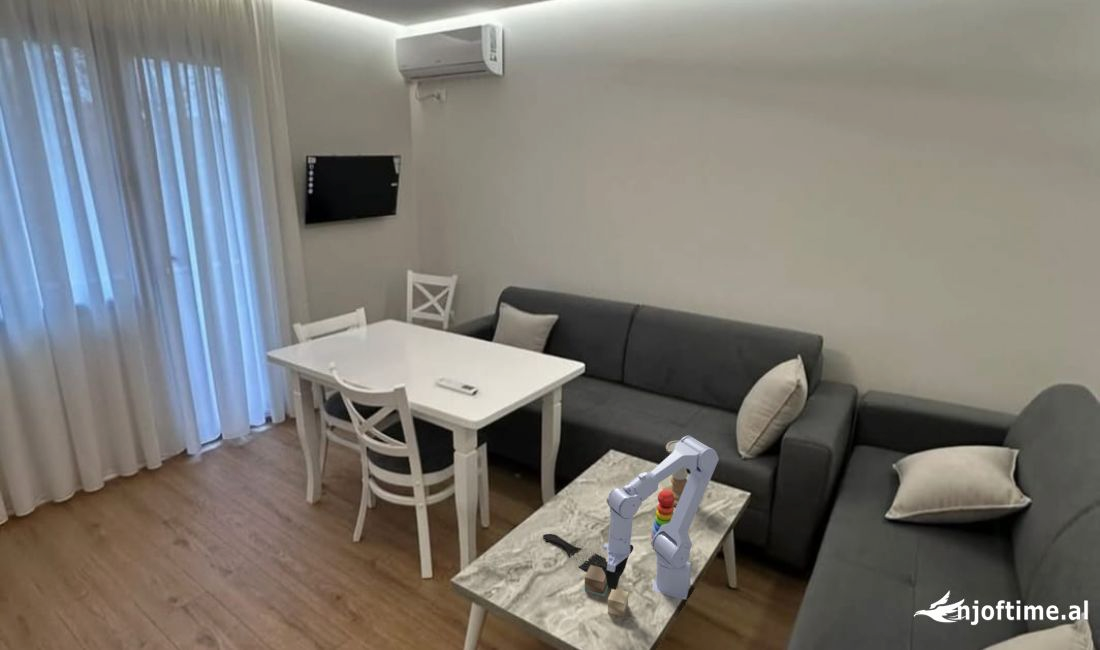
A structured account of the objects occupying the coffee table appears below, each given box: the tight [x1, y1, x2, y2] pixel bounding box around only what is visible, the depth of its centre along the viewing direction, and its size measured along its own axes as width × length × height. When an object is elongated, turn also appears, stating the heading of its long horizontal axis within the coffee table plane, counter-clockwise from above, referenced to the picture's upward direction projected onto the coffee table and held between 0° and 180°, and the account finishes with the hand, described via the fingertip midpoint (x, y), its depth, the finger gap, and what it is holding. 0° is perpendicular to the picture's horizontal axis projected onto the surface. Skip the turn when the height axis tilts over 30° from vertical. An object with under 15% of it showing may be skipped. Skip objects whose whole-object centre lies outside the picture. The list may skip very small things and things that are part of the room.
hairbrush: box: [542, 533, 607, 572], centre depth 174 cm, size 8×4×25 cm
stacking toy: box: [650, 489, 675, 545], centre depth 175 cm, size 8×8×19 cm
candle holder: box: [662, 439, 688, 507], centre depth 200 cm, size 12×12×20 cm
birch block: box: [607, 588, 629, 618], centre depth 150 cm, size 4×4×4 cm
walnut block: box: [584, 565, 607, 594], centre depth 159 cm, size 5×5×4 cm
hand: (616, 579), depth 149 cm, fingers open, 7 cm apart
